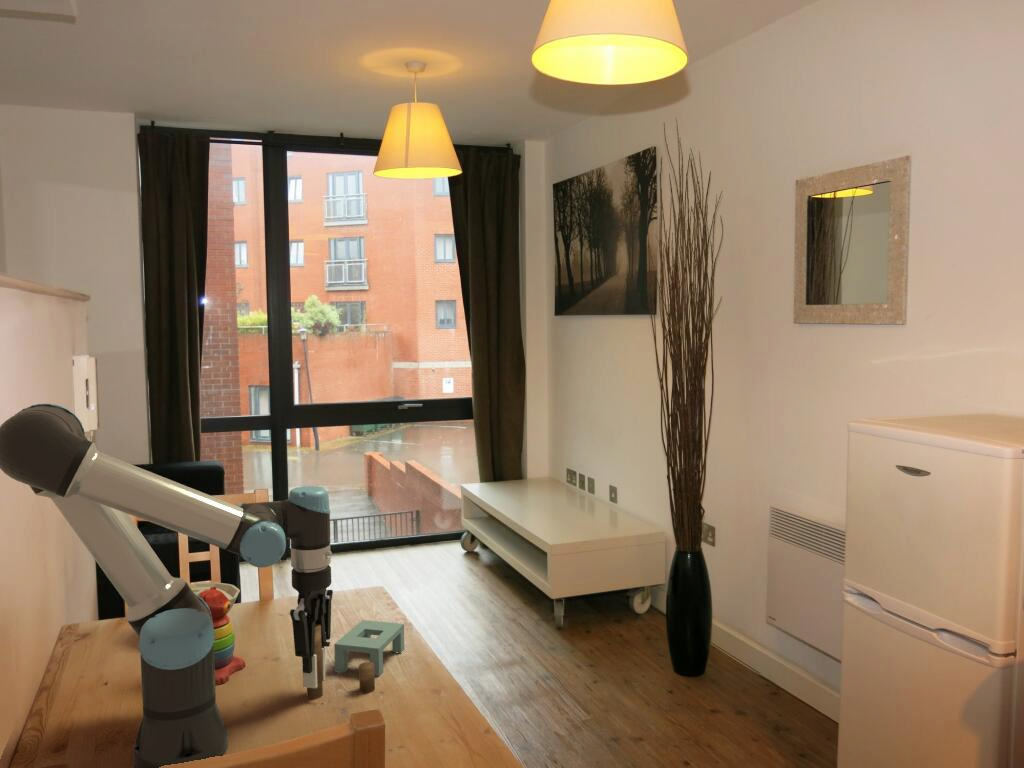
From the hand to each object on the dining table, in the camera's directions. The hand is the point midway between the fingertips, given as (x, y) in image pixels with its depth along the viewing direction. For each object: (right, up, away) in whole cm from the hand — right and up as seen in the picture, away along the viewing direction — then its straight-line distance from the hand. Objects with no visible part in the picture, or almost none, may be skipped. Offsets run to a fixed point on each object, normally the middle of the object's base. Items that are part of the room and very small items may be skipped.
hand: (314, 682), depth 165 cm
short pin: (+10, -2, +3) cm, 11 cm away
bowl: (-35, 0, +33) cm, 48 cm away
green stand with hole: (+8, -1, +17) cm, 19 cm away
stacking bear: (-24, -2, +11) cm, 26 cm away
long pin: (0, -3, 0) cm, 3 cm away
